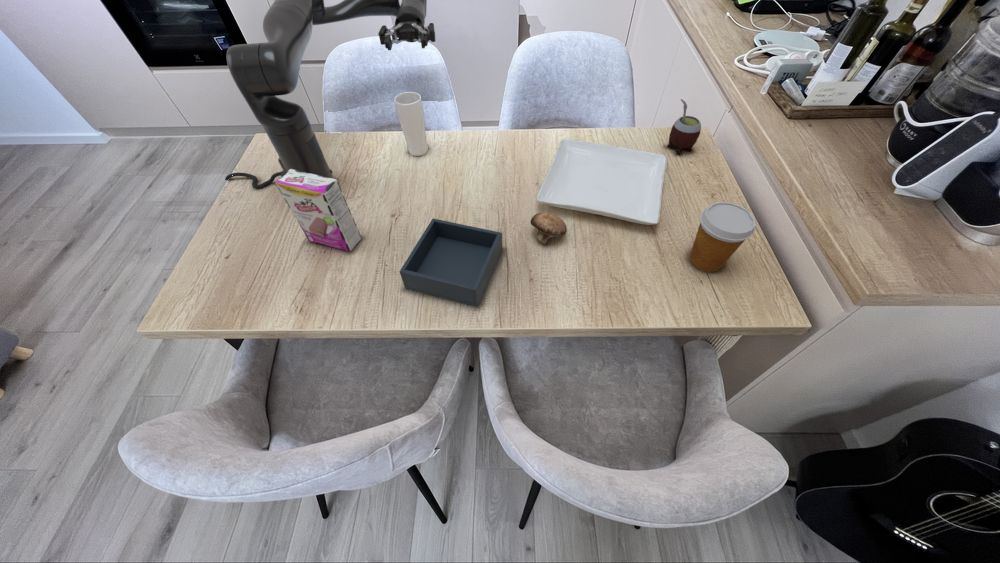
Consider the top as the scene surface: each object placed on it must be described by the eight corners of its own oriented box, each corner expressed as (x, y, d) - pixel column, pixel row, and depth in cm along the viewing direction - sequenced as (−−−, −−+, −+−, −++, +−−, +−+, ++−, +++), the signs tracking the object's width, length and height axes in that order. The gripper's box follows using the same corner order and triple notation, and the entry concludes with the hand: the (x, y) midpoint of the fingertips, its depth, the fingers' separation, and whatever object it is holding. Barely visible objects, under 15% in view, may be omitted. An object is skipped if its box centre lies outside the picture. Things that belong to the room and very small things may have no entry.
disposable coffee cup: (725, 285, 78) (754, 242, 68) (676, 267, 81) (697, 224, 71) (733, 253, 83) (761, 209, 73) (687, 238, 86) (708, 194, 76)
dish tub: (405, 288, 79) (399, 271, 75) (436, 235, 88) (432, 218, 84) (478, 307, 76) (475, 290, 72) (502, 250, 85) (502, 232, 81)
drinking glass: (426, 159, 107) (415, 105, 95) (402, 157, 108) (389, 103, 96) (434, 145, 111) (424, 92, 99) (411, 143, 112) (399, 90, 100)
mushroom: (536, 245, 81) (546, 215, 79) (519, 233, 88) (527, 206, 86) (567, 250, 85) (577, 222, 83) (548, 239, 92) (556, 213, 90)
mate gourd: (693, 144, 108) (715, 89, 96) (691, 160, 104) (714, 104, 92) (665, 139, 110) (683, 84, 98) (662, 154, 105) (680, 99, 94)
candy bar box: (307, 242, 88) (273, 182, 75) (321, 228, 91) (289, 167, 78) (350, 253, 86) (322, 193, 73) (363, 238, 88) (337, 177, 76)
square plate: (654, 236, 86) (659, 223, 83) (534, 212, 93) (534, 198, 89) (664, 165, 102) (668, 152, 99) (560, 148, 108) (562, 135, 105)
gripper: (438, 35, 112) (436, 59, 102) (388, 37, 111) (380, 62, 101) (434, 4, 106) (431, 26, 96) (381, 6, 106) (372, 29, 96)
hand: (405, 45), depth 99 cm, fingers open, 8 cm apart
